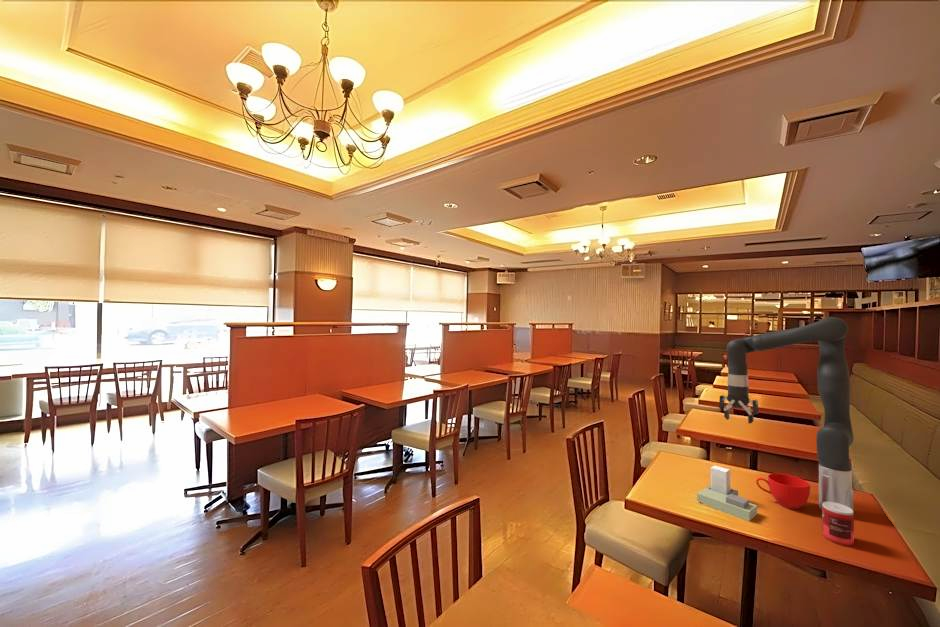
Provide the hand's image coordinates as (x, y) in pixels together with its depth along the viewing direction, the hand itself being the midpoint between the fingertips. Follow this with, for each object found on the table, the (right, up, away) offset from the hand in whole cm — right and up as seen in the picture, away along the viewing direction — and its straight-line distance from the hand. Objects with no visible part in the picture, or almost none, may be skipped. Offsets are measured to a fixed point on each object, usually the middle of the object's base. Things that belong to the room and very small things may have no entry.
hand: (738, 421), depth 168 cm
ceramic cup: (+7, -30, -14) cm, 34 cm away
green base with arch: (-14, -29, -15) cm, 36 cm away
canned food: (+7, -30, -39) cm, 49 cm away
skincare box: (-14, -30, -9) cm, 34 cm away
